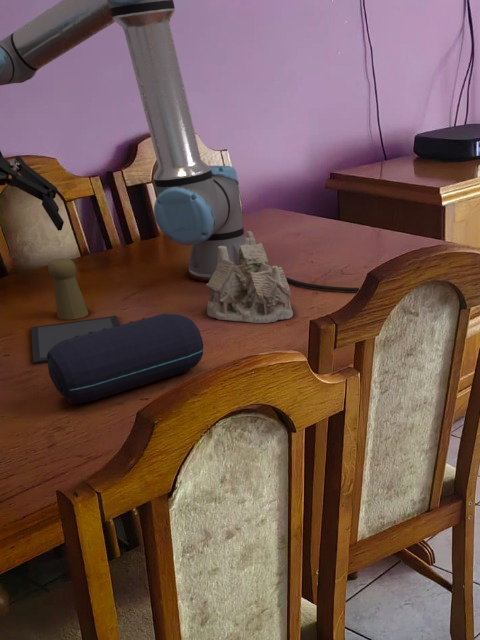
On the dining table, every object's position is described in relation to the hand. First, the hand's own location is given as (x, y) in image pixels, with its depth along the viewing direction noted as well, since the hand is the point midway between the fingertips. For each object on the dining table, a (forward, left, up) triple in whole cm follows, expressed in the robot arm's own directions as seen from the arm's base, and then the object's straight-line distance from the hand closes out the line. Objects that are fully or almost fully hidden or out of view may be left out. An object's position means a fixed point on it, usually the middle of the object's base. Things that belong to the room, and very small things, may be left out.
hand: (29, 232), depth 168 cm
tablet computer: (-15, +20, -15) cm, 29 cm away
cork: (-8, +6, -15) cm, 18 cm away
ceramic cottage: (-44, +3, -15) cm, 47 cm away
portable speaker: (-34, +41, -15) cm, 56 cm away
